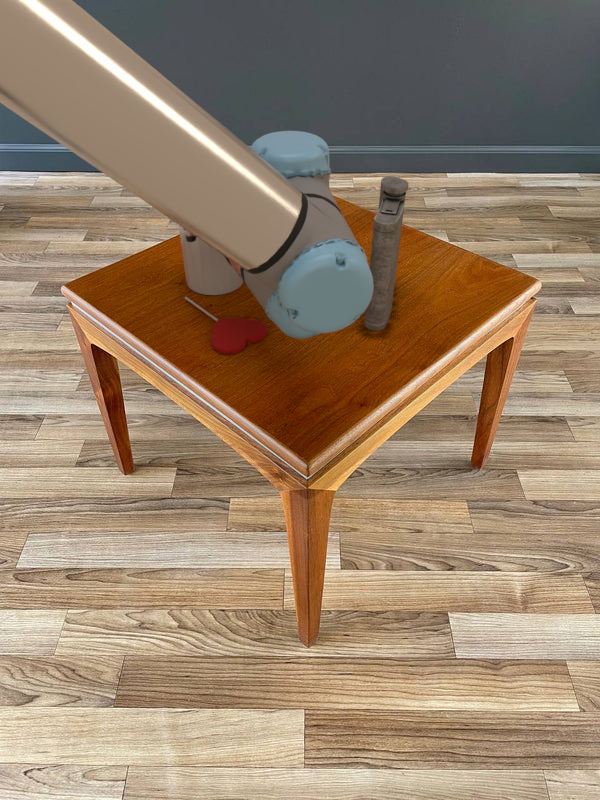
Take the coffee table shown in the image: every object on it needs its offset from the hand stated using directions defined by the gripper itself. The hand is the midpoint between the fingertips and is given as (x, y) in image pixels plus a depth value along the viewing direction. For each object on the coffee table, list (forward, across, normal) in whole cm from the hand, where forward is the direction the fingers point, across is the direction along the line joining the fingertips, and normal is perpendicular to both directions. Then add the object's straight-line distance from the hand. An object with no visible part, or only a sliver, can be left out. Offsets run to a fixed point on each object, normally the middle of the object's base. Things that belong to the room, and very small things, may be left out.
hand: (194, 173), depth 91 cm
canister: (-6, 0, -14) cm, 15 cm away
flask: (-21, +20, -15) cm, 32 cm away
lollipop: (-16, -4, -15) cm, 22 cm away
